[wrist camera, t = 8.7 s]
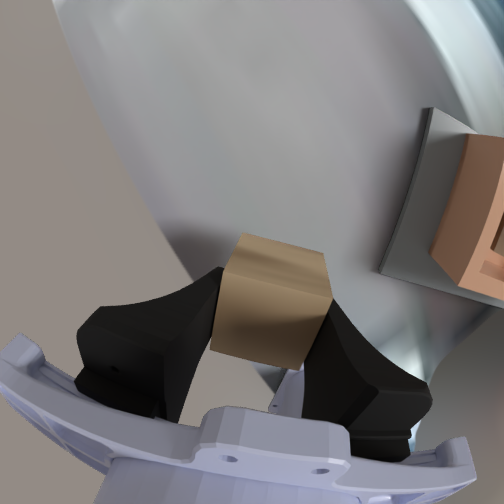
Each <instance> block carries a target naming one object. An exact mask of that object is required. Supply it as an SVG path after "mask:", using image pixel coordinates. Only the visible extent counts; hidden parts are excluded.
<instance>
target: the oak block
mask: <svg viewBox="0 0 504 504" xmlns="http://www.w3.org/2000/svg"><path fill="white" fill-rule="evenodd" d="M332 300H333V296H332V291H331V286H330V281H329V277H328V272H327V268H326V263H325V259H324V255H323V253H320V252H317V251H313V250H309V249H305V248H301V247H297V246H294V245H290V244H286V243H282V242H278V241H274V240H270V239H266V238H262V237H258V236H254V235H250V234H246V233H242V235H241V237H240V239H239V241H238V243H237V245H236V247H235V249H234V251H233V253H232V255H231V257H230V259H229V261H228V263H227V265H226V267H225V269H224V271H223V275H222V281H221V286H220V292H219V297H218V303H217V309H216V314H215V320H214V326H213V332H212V338H211V344H210V350H212V351H216V352H219V353H223V354H226V355H230V356H234V357H238V358H242V359H246V360H250V361H254V362H258V363H263V364H267V365H272V366H276V367H281V368H286V369H291V370H296V371H299V370H300V368H301V366H302V364H303V362H304V360H305V358H306V356H307V354H308V352H309V350H310V348H311V346H312V344H313V342H314V340H315V338H316V336H317V333H318V331H319V329H320V327H321V325H322V323H323V320H324V318H325V316H326V314H327V311H328V309H329V307H330V305H331V302H332Z"/></svg>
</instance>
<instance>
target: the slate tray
mask: <svg viewBox="0 0 504 504" xmlns="http://www.w3.org/2000/svg"><path fill="white" fill-rule="evenodd" d="M466 133H470V134H478V133H476V132H475V131H473V130H472V129H470V128H469V127H467V126H466V125H464V124H463V123H461V122H459V121H458V120H456V119H454V118H453V117H451V116H449V115H447V114H446V113H444V112H442V111H440V110H439V109H437V108H435V107H431V108H430V110H429V115H428V120H427V124H426V129H425V133H424V137H423V141H422V145H421V149H420V153H419V157H418V160H417V164H416V168H415V171H414V174H413V178H412V181H411V184H410V187H409V191H408V194H407V197H406V200H405V203H404V206H403V208H402V211H401V214H400V217H399V220H398V222H397V225H396V228H395V230H394V233H393V236H392V238H391V241H390V243H389V246H388V248H387V251H386V253H385V255H384V258H383V260H382V263H381V265H380V267H379V269H378V270H379V272H380V274H383V275H386V276H390V277H394V278H397V279H401V280H405V281H408V282H412V283H416V284H419V285H423V286H426V287H430V288H434V289H437V290H441V291H444V292H448V293H451V294H455V295H458V296H462V297H465V298H469V299H472V300H476V301H479V302H483V303H486V304H490V305H493V306H497V307H500V308H504V301H503V300H500V299H497V298H494V297H491V296H488V295H485V294H482V293H479V292H475V291H472V290H469V289H466V288H463V287H460V286H457V284H456V283H455V282H454V281H453V280H452V279H451V278H450V276H449V275H448V274H447V273H446V272H445V271H444V270H443V269H442V267H441V266H440V265H439V264H438V263H437V262H436V261H435V260H434V259H433V258H432V257H431V256H430V254H429V253H428V251H429V249H430V247H431V244H432V242H433V240H434V237H435V235H436V232H437V230H438V227H439V224H440V222H441V219H442V216H443V214H444V211H445V208H446V205H447V202H448V199H449V196H450V193H451V190H452V187H453V183H454V180H455V177H456V173H457V170H458V166H459V162H460V158H461V154H462V150H463V146H464V141H465V137H466Z"/></svg>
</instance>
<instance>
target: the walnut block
mask: <svg viewBox="0 0 504 504" xmlns="http://www.w3.org/2000/svg"><path fill="white" fill-rule="evenodd" d="M490 249H491V250H493V251H494V252H496V253H498V254H499V255H501V256H503V257H504V212H503V215H502V218H501V221H500V223H499V226H498V229H497V232H496V234H495V237H494V239H493V242H492V244H491V247H490Z"/></svg>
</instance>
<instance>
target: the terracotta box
mask: <svg viewBox="0 0 504 504" xmlns="http://www.w3.org/2000/svg"><path fill="white" fill-rule="evenodd" d="M503 212H504V138H502V137H495V136H488V135H479V134H470V133H466V137H465V141H464V146H463V150H462V154H461V158H460V162H459V166H458V170H457V173H456V177H455V180H454V183H453V187H452V190H451V193H450V196H449V199H448V202H447V205H446V208H445V211H444V214H443V216H442V219H441V222H440V224H439V227H438V230H437V232H436V235H435V237H434V240H433V242H432V244H431V247H430V249H429V251H428V253H429V254H430V256H431V257H432V258H433V259H434V260H435V261H436V262H437V263H438V264H439V265H440V266H441V267H442V269H443V270H444V271H445V272H446V273H447V274H448V275H449V276H450V278H451V279H452V280H453V281H454V282H455V283H456V284H457V286H460V287H463V288H466V289H469V290H472V291H475V292H479V293H482V294H485V295H488V296H491V297H494V298H497V299H500V300H503V301H504V257H503V256H501V255H499V254H498V253H496V252H494V251H493V250H491V249H490V247H491V244H492V242H493V239H494V237H495V234H496V232H497V229H498V226H499V223H500V221H501V218H502V215H503Z"/></svg>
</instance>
